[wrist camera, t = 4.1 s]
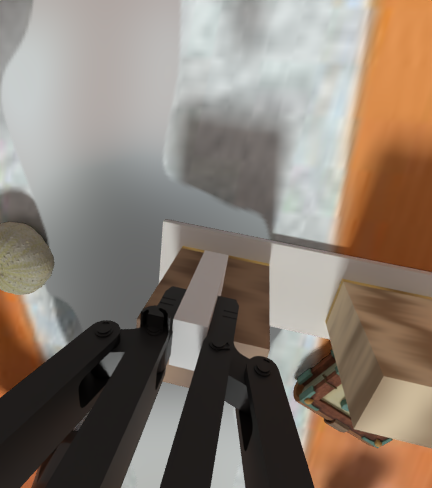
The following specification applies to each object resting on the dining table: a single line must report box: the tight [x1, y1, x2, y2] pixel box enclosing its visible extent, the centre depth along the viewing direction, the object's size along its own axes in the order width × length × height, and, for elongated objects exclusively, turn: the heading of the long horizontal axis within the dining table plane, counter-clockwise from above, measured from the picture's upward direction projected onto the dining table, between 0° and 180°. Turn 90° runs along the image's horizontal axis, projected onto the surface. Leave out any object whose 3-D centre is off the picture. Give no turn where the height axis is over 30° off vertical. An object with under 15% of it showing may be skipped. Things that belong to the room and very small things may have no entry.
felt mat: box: [159, 219, 432, 339], centre depth 34 cm, size 33×11×1 cm, turn 82°
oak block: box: [325, 279, 432, 448], centre depth 27 cm, size 10×6×13 cm, turn 82°
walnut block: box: [137, 246, 270, 388], centre depth 29 cm, size 10×6×13 cm, turn 82°
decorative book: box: [294, 349, 392, 448], centre depth 37 cm, size 13×18×5 cm
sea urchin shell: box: [0, 222, 54, 295], centre depth 36 cm, size 9×8×8 cm
